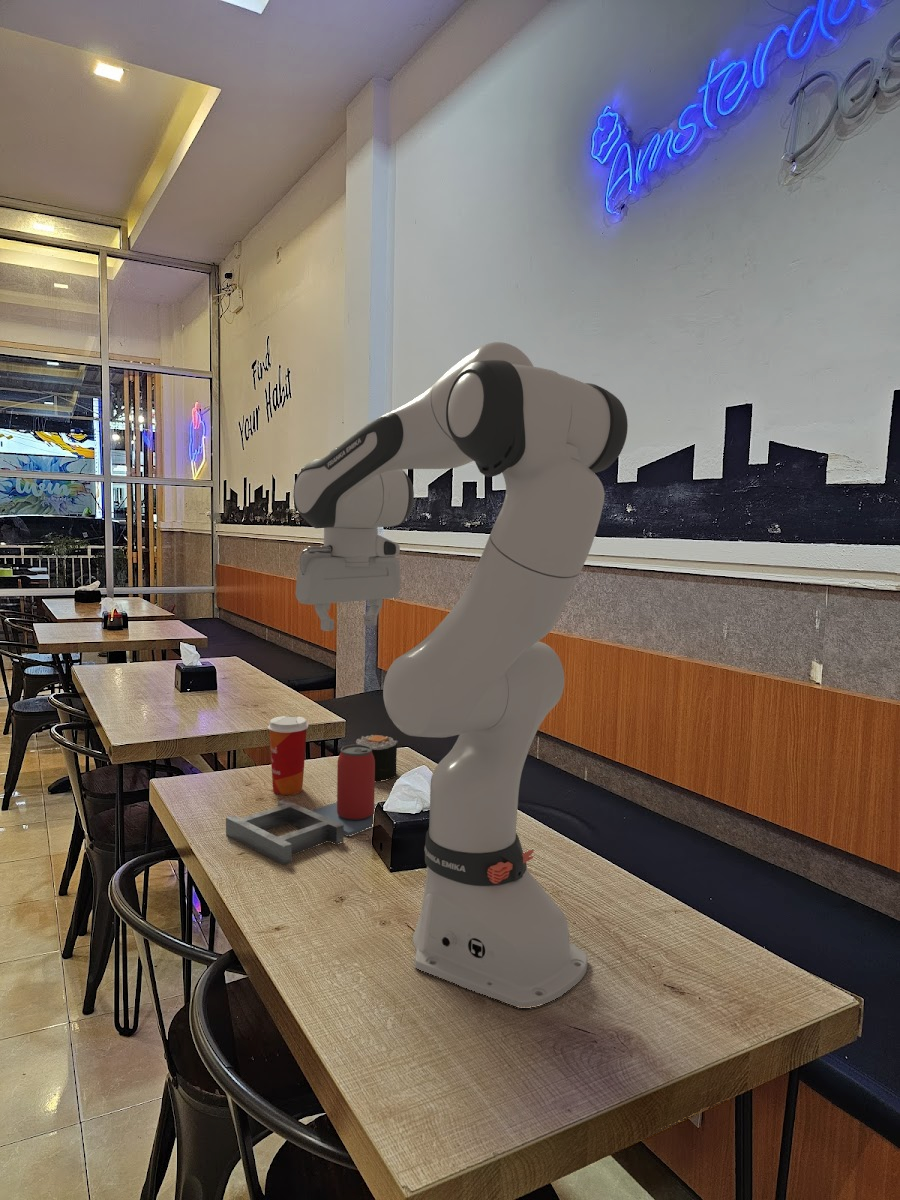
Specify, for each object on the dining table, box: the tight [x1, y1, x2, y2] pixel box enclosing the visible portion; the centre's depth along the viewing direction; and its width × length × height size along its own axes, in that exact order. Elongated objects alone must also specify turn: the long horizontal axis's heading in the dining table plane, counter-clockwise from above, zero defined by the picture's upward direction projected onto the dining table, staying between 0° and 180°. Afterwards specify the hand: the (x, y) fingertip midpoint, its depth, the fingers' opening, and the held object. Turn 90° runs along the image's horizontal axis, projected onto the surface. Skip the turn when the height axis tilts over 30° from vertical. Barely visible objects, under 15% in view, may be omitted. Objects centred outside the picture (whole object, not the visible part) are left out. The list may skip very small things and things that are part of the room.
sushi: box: [355, 734, 398, 781], centre depth 161 cm, size 8×8×8 cm
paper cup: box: [267, 715, 309, 796], centre depth 151 cm, size 8×8×14 cm
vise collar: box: [225, 799, 345, 866], centre depth 129 cm, size 16×12×3 cm
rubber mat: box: [310, 801, 378, 836], centre depth 139 cm, size 12×12×1 cm
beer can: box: [336, 744, 376, 820], centre depth 137 cm, size 7×7×12 cm
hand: (349, 627), depth 130 cm, fingers open, 8 cm apart
